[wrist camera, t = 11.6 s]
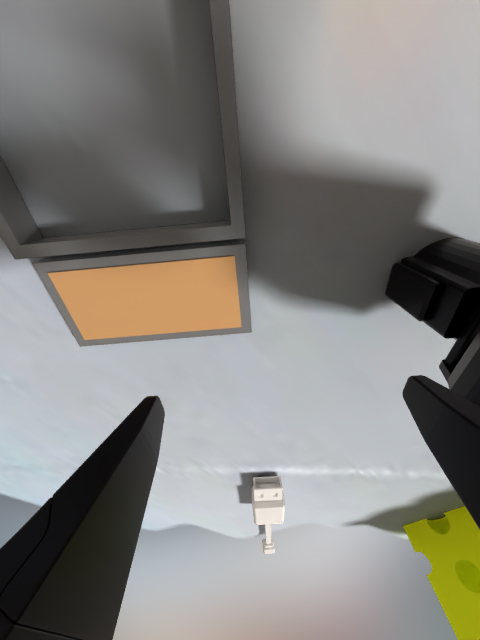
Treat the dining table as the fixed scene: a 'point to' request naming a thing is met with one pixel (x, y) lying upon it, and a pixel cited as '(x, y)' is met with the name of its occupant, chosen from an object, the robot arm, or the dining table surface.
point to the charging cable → (268, 506)
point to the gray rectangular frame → (27, 242)
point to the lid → (151, 293)
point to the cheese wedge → (453, 566)
